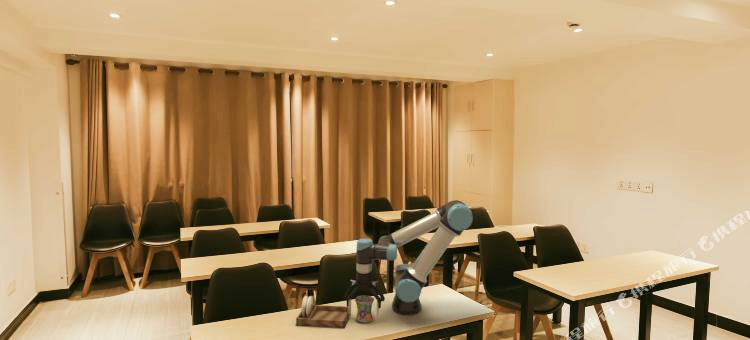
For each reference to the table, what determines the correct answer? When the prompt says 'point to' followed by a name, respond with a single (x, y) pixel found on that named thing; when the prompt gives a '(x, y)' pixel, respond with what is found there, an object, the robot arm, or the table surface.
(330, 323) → the rack
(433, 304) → the table surface
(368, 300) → the mug
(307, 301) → the plates
